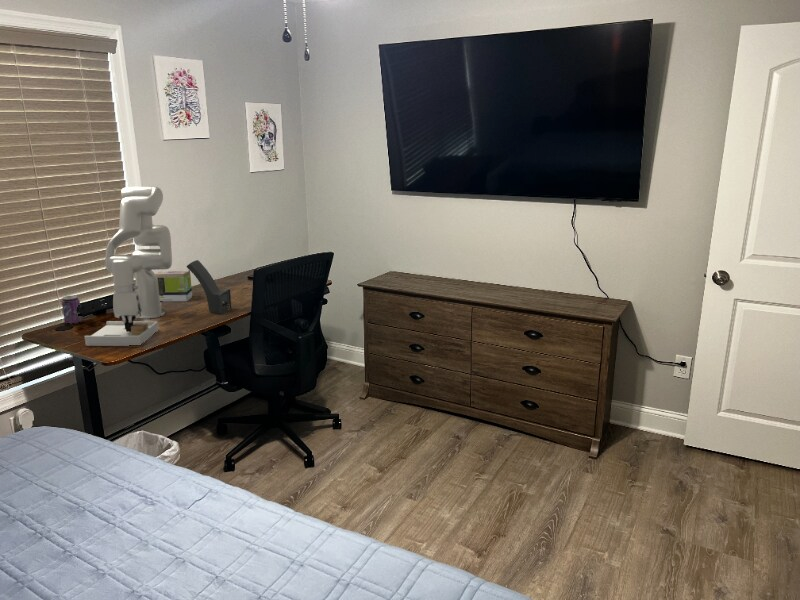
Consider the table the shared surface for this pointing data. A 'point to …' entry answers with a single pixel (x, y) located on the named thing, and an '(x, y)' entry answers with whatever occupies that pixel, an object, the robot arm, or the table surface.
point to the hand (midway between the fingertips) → (129, 330)
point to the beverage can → (71, 309)
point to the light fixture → (211, 289)
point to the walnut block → (138, 328)
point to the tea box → (174, 285)
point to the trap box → (120, 335)
